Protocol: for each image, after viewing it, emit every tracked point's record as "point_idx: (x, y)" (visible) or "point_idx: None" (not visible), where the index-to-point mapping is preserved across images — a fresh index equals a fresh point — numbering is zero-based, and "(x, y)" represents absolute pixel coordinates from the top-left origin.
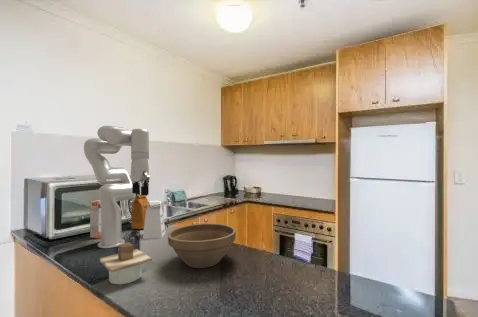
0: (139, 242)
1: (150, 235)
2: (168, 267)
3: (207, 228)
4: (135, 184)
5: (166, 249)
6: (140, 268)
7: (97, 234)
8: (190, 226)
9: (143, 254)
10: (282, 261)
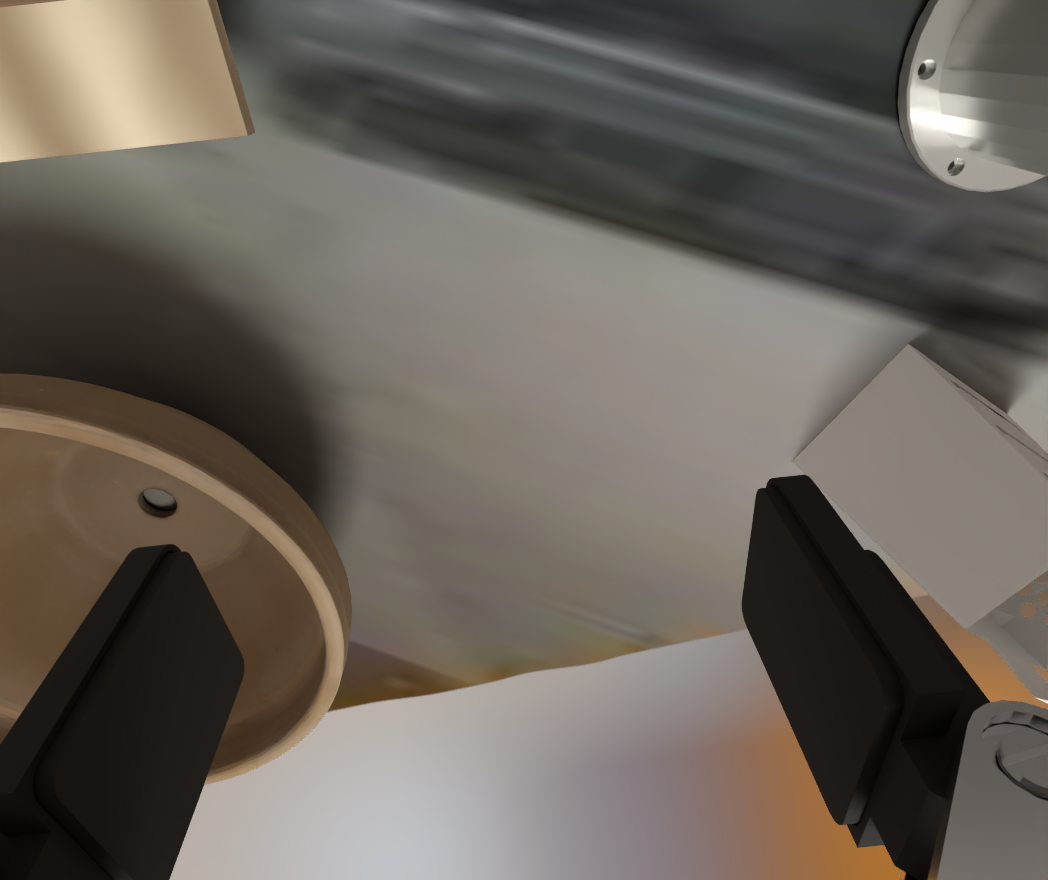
0: (841, 295)
1: (874, 406)
2: (156, 301)
3: (298, 699)
4: (900, 774)
5: (519, 404)
6: None
7: None
8: (325, 638)
9: (46, 138)
10: None
